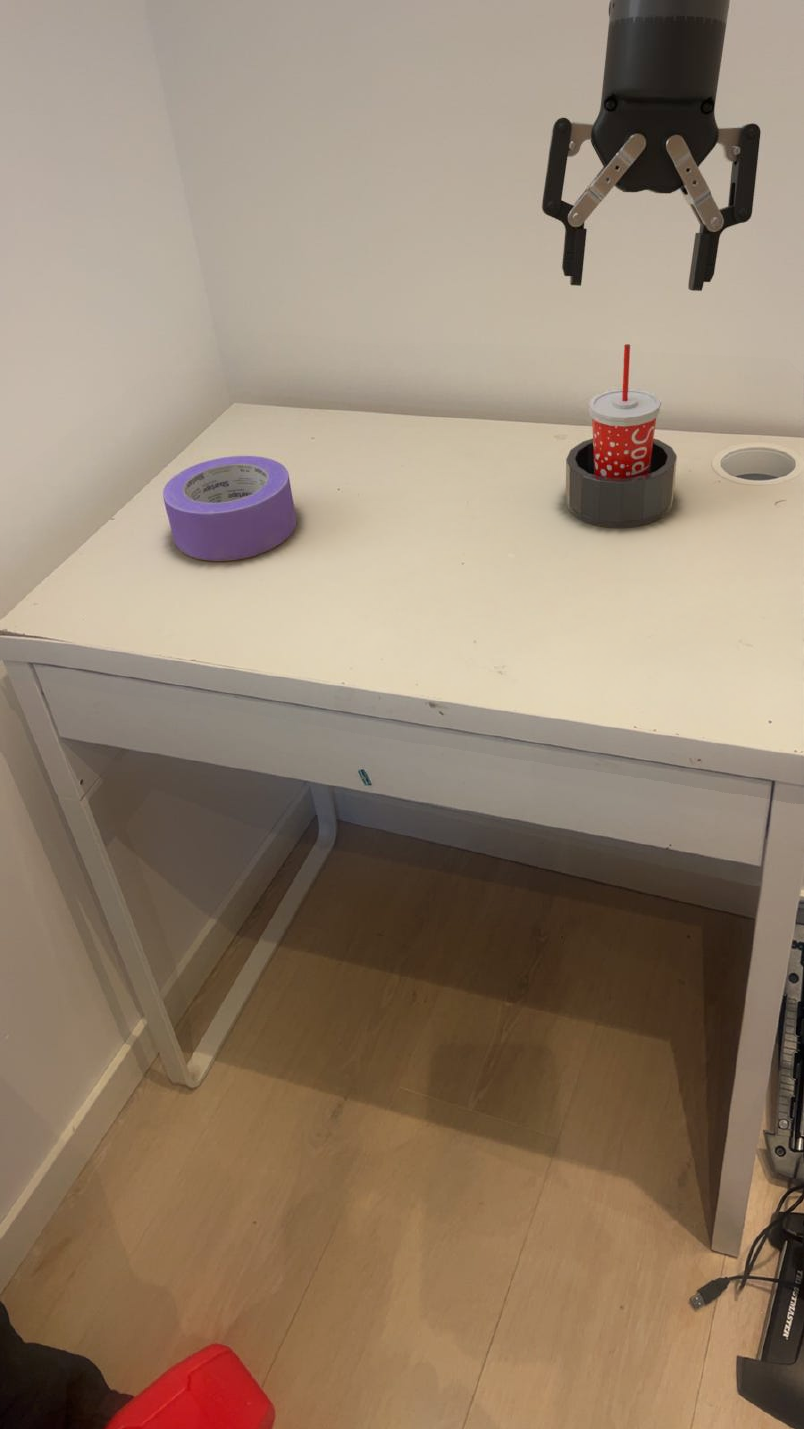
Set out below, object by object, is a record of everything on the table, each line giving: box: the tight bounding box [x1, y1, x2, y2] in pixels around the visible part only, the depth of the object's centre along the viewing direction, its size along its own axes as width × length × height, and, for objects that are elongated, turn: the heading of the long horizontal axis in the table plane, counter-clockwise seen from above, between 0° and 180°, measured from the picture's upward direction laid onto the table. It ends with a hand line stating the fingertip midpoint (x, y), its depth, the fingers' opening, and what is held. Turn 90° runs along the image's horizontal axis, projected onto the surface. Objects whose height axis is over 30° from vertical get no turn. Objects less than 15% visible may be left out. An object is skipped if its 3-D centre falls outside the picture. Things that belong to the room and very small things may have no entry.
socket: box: [565, 438, 678, 529], centre depth 95 cm, size 10×10×4 cm
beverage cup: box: [588, 343, 662, 479], centre depth 91 cm, size 6×6×14 cm
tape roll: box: [162, 455, 297, 562], centre depth 97 cm, size 12×12×5 cm
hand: (635, 287), depth 75 cm, fingers open, 8 cm apart
